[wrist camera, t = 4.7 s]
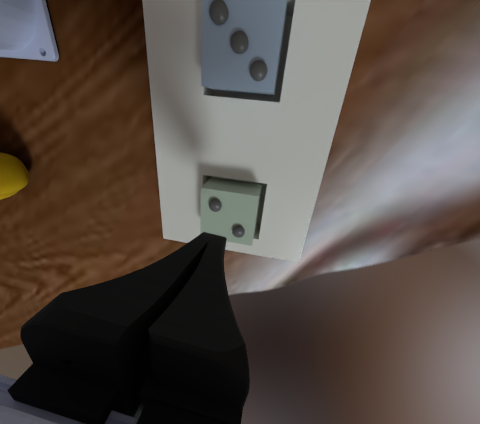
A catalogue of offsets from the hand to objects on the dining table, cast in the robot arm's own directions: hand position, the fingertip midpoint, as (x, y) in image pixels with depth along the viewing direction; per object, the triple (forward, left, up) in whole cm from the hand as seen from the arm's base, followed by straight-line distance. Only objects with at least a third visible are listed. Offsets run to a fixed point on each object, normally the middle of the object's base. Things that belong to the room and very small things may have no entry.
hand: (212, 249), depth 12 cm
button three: (0, +10, -6) cm, 12 cm away
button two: (0, 0, -6) cm, 6 cm away
